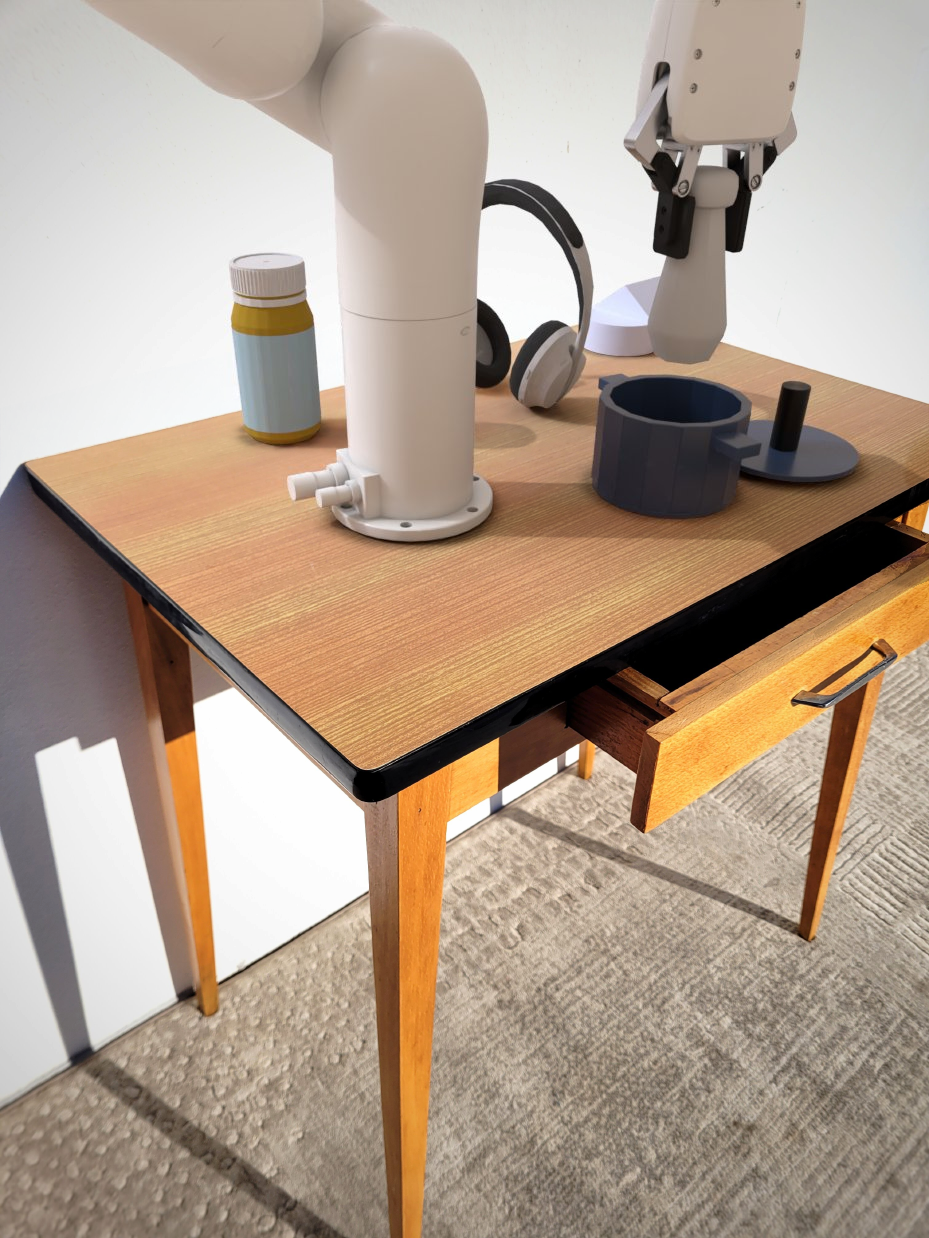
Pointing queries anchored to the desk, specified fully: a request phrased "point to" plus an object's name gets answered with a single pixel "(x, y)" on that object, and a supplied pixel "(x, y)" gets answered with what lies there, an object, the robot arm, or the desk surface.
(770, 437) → the lid
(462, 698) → the desk surface
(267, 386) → the bottle
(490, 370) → the headphones
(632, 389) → the pot
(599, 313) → the wedge on round base
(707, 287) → the salt shaker
